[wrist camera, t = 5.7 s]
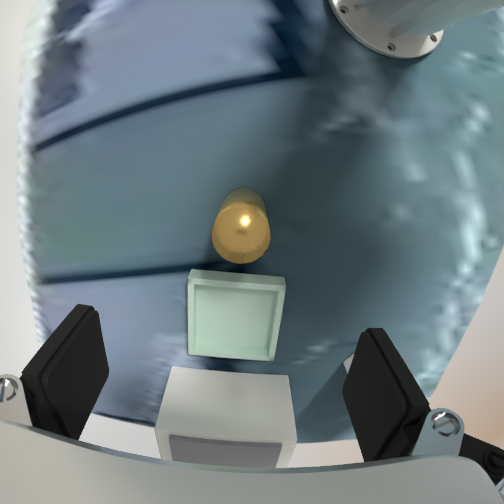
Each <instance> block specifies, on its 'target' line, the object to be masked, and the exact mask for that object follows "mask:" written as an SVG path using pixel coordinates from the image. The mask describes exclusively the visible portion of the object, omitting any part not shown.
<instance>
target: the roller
mask: <svg viewBox="0 0 504 504" xmlns="http://www.w3.org/2000/svg"><path fill="white" fill-rule="evenodd" d="M270 238H271V233H270V228H269V223H268V218H267V214H266V209H265V205H264V201H263V199H262V198H261V196H260V195H259V194H258V193H257V192H255V191H254V190H251V189H248V188H238V189H235V190H233V191H231V192H230V193H228V194H227V195H226V197H225V198H224V200H223V202H222V205H221V207H220V210H219V212H218V215H217V218H216V220H215V223H214V225H213V229H212V242H213V245H214V247H215V249H216V251H217V252H218V253H219V254H220V255H221V256H222V257H223V258H224V259H226V260H228V261H230V262H234V263H241V264H243V263H249V262H252V261H255V260H257V259H258V258H260V257H261V256H262V255H263V254H264V253H265V251H266V250H267V248H268V246H269V243H270Z"/></svg>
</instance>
